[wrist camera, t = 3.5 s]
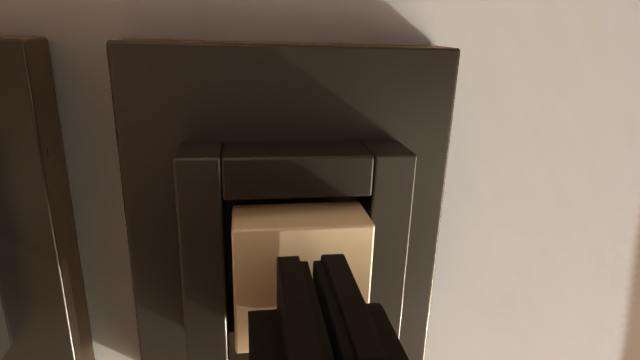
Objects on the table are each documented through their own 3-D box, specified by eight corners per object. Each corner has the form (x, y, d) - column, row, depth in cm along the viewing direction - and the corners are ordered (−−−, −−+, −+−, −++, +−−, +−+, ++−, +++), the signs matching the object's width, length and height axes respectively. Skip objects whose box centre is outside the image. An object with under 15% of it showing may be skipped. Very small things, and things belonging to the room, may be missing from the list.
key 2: (232, 203, 13) (231, 230, 11) (359, 200, 13) (375, 224, 12) (236, 316, 14) (235, 355, 12) (353, 308, 15) (367, 344, 13)
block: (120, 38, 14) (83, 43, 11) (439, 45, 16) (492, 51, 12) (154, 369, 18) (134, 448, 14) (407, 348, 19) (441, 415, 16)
